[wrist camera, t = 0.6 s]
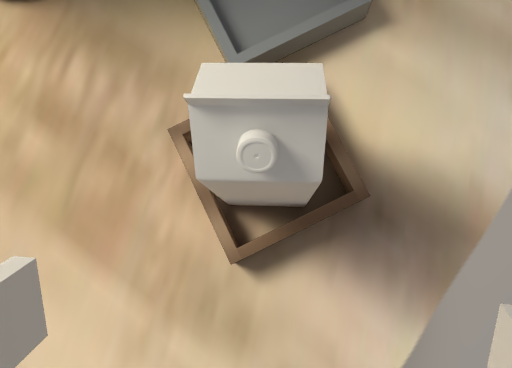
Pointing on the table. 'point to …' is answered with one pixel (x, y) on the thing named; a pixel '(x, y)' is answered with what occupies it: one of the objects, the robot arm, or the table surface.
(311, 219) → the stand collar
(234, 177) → the milk carton
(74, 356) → the table surface
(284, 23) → the tray
